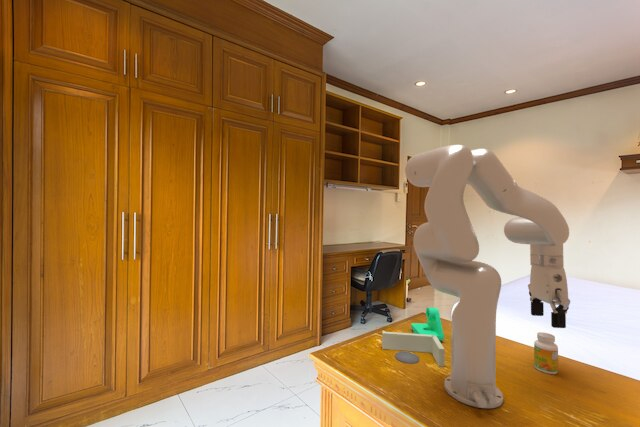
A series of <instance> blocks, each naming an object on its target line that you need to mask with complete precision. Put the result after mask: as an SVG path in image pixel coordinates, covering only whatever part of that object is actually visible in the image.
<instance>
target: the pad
mask: <svg viewBox="0 0 640 427" xmlns="http://www.w3.org/2000/svg"><path fill="white" fill-rule="evenodd" d="M394 358H395V359H396V360H397V361H399V362H401V363H404V364H411V365H412V364H417V363H419V362H420V357H419V355H417V354H415V353H412V352H411V351H398V352H396V353H395V354H394Z"/></svg>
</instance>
